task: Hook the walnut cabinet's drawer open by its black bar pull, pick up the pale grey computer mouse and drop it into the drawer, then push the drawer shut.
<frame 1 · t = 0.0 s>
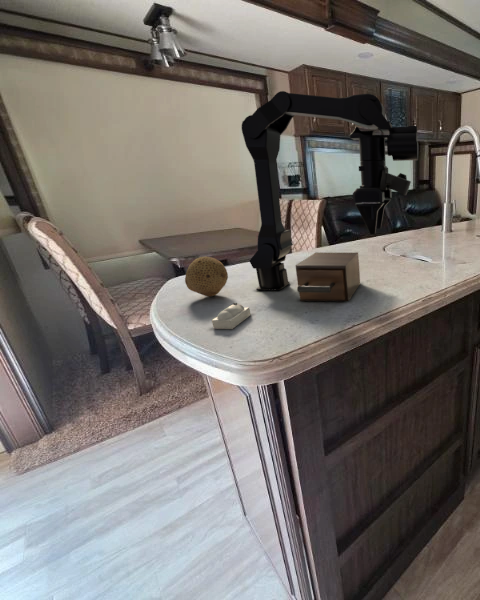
hand: (375, 231, 77), 15 cm above the countertop, tool pointing down, fingers open, 9 cm apart
cabinet: (332, 291, 80), on the countertop
natural sponge: (212, 297, 78), on the countertop
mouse: (233, 321, 64), on the countertop
drawer: (325, 280, 75), point 4 cm above the countertop, slide at 0.0 cm
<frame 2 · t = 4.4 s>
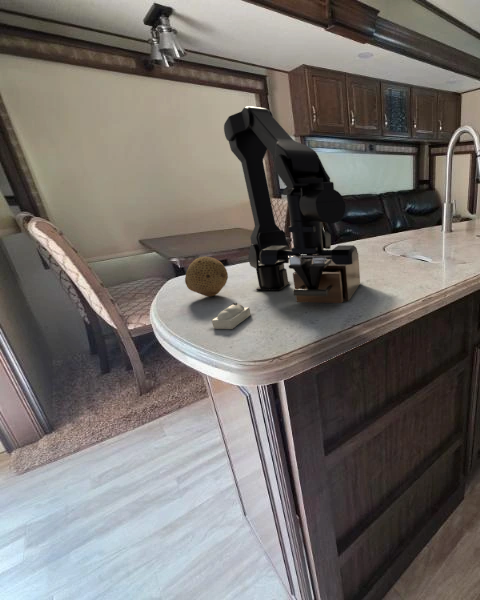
hand: (314, 294, 67), 4 cm above the countertop, tool pointing down, fingers closed, pressing on drawer
drawer: (323, 282, 73), point 4 cm above the countertop, slide at 2.1 cm, touching gripper
everything else where it was.
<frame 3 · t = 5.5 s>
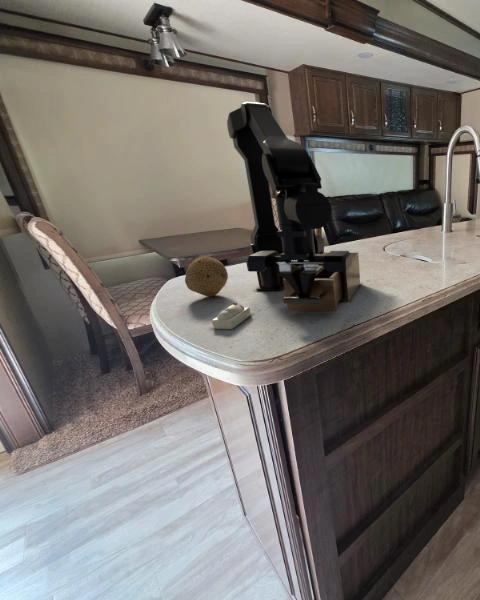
hand: (306, 303, 63), 4 cm above the countertop, tool pointing down, fingers closed, pressing on drawer
drawer: (316, 289, 68), point 4 cm above the countertop, slide at 7.0 cm, touching gripper
everything else where it was.
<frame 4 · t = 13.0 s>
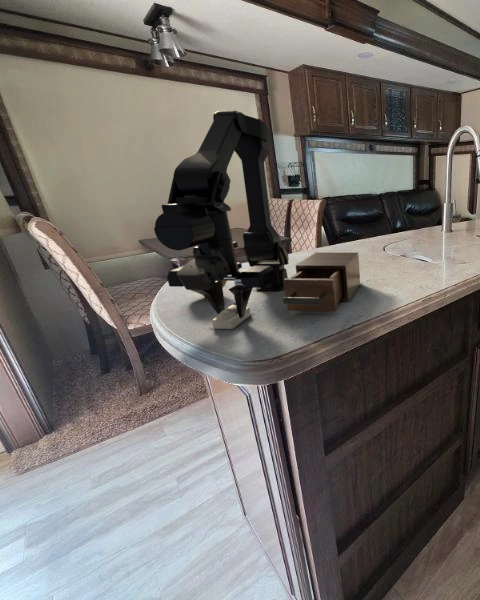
hand: (232, 316, 63), 1 cm above the countertop, tool pointing down, fingers closed on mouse, 4 cm apart
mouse: (233, 321, 64), on the countertop, touching gripper
drawer: (315, 289, 68), point 4 cm above the countertop, slide at 7.0 cm
everything else where it was.
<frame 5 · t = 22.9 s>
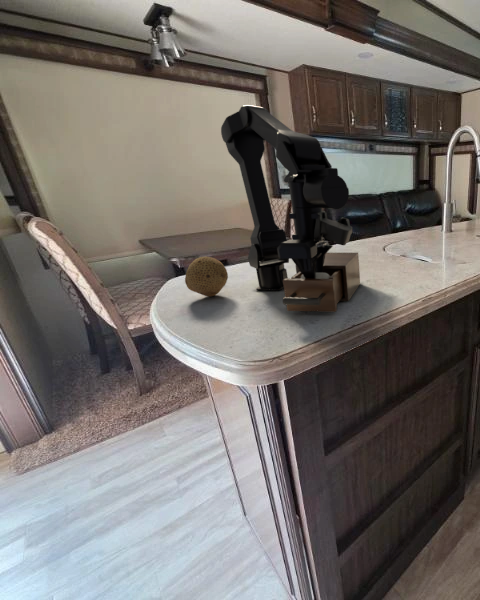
hand: (315, 282, 68), 6 cm above the countertop, tool pointing down, fingers closed on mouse, 4 cm apart
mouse: (316, 286, 68), point 5 cm above the countertop, touching gripper
everything else where it was.
when the fingers open (9 cm above the countertop, at t = 28.7 s): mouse drops 6 cm, resting on drawer.
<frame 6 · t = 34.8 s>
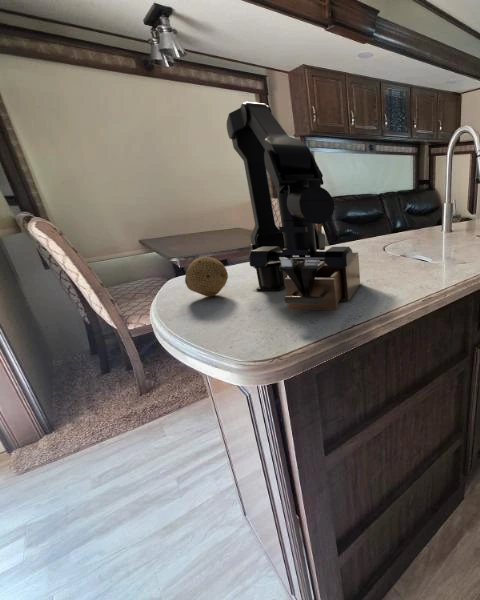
hand: (307, 298, 64), 4 cm above the countertop, tool pointing down, fingers closed
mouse: (319, 297, 70), point 2 cm above the countertop, touching drawer
drawer: (316, 288, 69), point 4 cm above the countertop, slide at 6.4 cm, touching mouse
everything else where it was.
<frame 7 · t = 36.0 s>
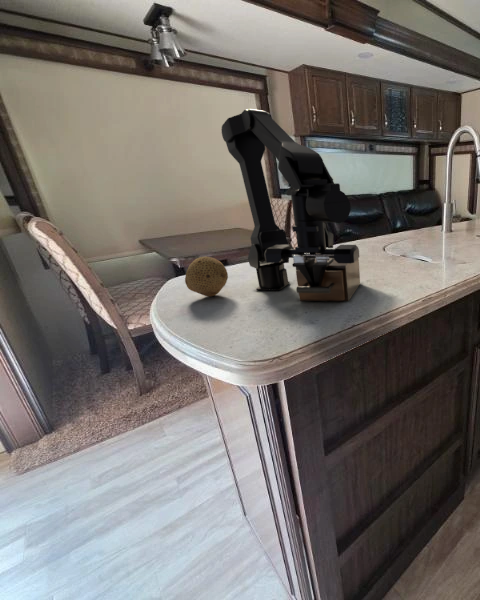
hand: (317, 292, 69), 3 cm above the countertop, tool pointing down, fingers closed, pressing on drawer
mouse: (327, 288, 76), point 2 cm above the countertop, touching drawer
drawer: (325, 280, 75), point 4 cm above the countertop, slide at 0.3 cm, touching gripper, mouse
everything else where it was.
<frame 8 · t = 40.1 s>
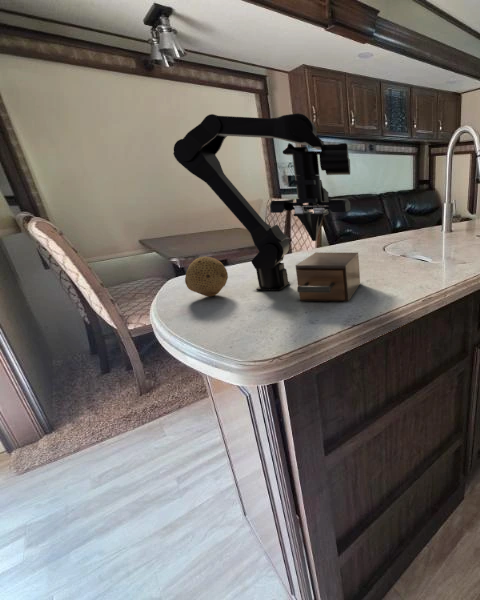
hand: (314, 240, 81), 12 cm above the countertop, tool pointing down, fingers closed
drawer: (325, 280, 75), point 4 cm above the countertop, slide at 0.0 cm, touching cabinet, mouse
everything else where it was.
at the end: drawer pulled out 7.3 cm at the most during the clip, back to where it started at the end; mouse inside the target area in the cabinet (3.4 cm from its centre), point 2.0 cm above the cabinet's base; drawer slide at 0.0 cm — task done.
